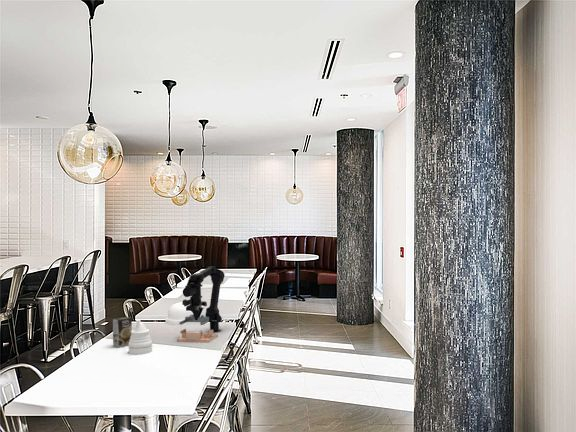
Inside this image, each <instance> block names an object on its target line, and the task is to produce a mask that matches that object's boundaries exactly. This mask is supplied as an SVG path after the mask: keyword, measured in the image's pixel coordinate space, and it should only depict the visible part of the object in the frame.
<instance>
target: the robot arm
mask: <svg viewBox="0 0 576 432" xmlns="http://www.w3.org/2000/svg"><path fill="white" fill-rule="evenodd" d="M207 277H210V280H211V283H212V289H211V294H210V302H209V306H208V302H207V301H205V300H202V298H203V295H202V288H201V287H203V284H202V283H203V282H204V280H205V278H207ZM224 279H225V273H224V271H223V270H221V269H220V268H217V267H216V266H207V268H204V269H202V271H200V272H198V273H192V274H190V275H189V278H188V280H187V283H186V285H185V286H184V288H183V290H182V295H183V296H184V298H189V297H190V298H189V299H188V300H187V299H184V300H182V301H181V302H182V305H184V307H185V306H187V307H186V311H192V312H193V315H194V318H195V320H197V319H198V317H200V315H201V313H202V311H203V309H204V310H205V314H206V317H209V322H208V323H209V330H208V331H207V332H209V331H210V330H213V333H218V332H220V331H221V328H219V327H220V323H221V322H223V321H222V319H223V317H222V316H221V315H220V310H219V307H218V304H219V298H220V292H221V291H220V289H221V285H222V284H223V282H224ZM202 306H203V307H202ZM207 306H208V307H207ZM205 307H206V309H205Z"/></svg>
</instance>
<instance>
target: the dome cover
mask: <svg viewBox="0 0 576 432" xmlns="http://www.w3.org/2000/svg"><path fill="white" fill-rule="evenodd" d="M182 302H183V301H179V302H175V303H174V304H172V305H171V306H170V307H169V309H168V310H167V316H166V317H165V321H164V322H165V323H164V324H166V325H168V326H176V327H177V326H179V327H181V326H182V327H184V326H195V325H200V323H201V322H186V323H184V324H181V325H179V322H181V321H183V320H185V317H186V316H188V317H189V316H190V315H193V312H192V311H186V307H187V306H185V307H184V305H182ZM202 307H204V306H202ZM201 315H205V316H206V309H205V308H204V309H203V311H202V313H201ZM201 315H200V317H201Z"/></svg>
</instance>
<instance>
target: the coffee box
mask: <svg viewBox="0 0 576 432" xmlns="http://www.w3.org/2000/svg"><path fill="white" fill-rule="evenodd" d="M132 319H133V318H132V317H129V316H124V317H118V318H112V338H113V339H112V345H113V347H114V348H119V349H120V348H124V347H129V342H130V337H131V335H132V333H131V331H132V330H133V326H132V325H133V323H132Z"/></svg>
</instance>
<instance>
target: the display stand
mask: <svg viewBox="0 0 576 432" xmlns="http://www.w3.org/2000/svg"><path fill="white" fill-rule="evenodd" d="M209 330H210V329H209ZM209 330H208V331H209ZM179 331H180V334H181V336H180V337H178V338H176V342H178V343H179V342H181V343H209V342H211V341H213V340H215V339H216V338H218V337H219V335H218V333H217V334H216V333H214V332H213V330H210V331H209V332H208V331H206V332H205V333H203V330H196V331H194V330H188V331H187V328H183V329H182V330H179Z"/></svg>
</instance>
